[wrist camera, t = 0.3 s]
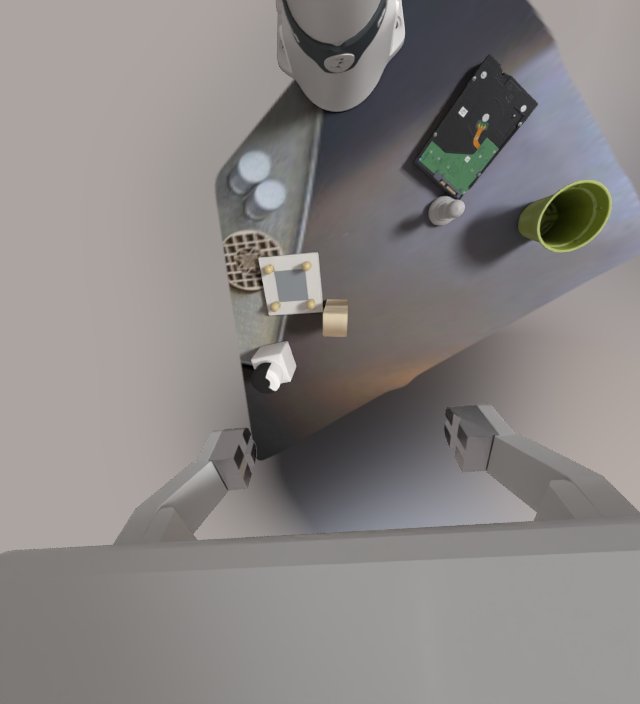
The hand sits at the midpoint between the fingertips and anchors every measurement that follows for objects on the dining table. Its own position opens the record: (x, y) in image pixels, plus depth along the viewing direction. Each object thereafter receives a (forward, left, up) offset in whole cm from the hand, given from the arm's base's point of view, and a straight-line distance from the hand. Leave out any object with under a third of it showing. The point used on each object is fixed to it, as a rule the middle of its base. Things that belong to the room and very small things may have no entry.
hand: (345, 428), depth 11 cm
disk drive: (-18, +20, -48) cm, 55 cm away
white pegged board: (+3, -12, -47) cm, 48 cm away
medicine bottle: (+19, -18, -47) cm, 54 cm away
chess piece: (-8, +17, -47) cm, 51 cm away
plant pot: (-5, +33, -47) cm, 58 cm away
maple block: (+9, -3, -47) cm, 48 cm away
